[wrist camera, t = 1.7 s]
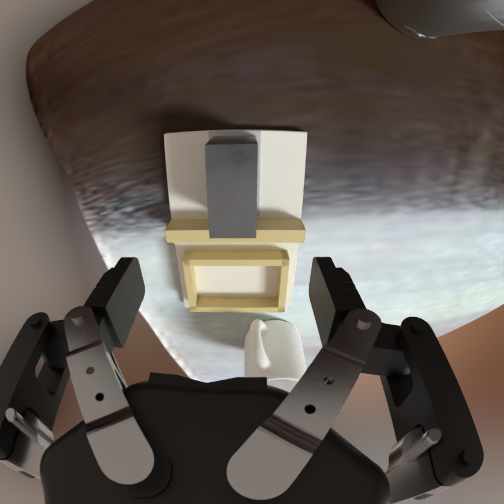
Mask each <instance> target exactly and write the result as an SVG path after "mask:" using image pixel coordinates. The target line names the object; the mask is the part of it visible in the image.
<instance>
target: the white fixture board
mask: <svg viewBox="0 0 504 504" xmlns="http://www.w3.org/2000/svg"><path fill="white" fill-rule="evenodd" d="M213 136H256V139H257V143H258V171H257V227H256V238H209V223H208V206H207V188H206V165H205V144H206V143H207V142H208V141H209V140H210V139H211V138H212V137H213ZM306 143H307V132H302V131H284V130H206V131H188V132H174V133H166V134H164V144H165V158H166V171H167V182H168V193H169V202H170V211H171V221H170V223H169V224H168V226H167V228H166V230H165V235H166V242H167V243H175V250H176V257H177V264H178V270H179V276H180V282H181V288H182V294H183V300H184V305H185V308H190V312H284V310H285V308H291V304H292V296H293V288H294V280H295V271H296V262H297V253H298V243H304V242H305V232H306V230H305V227H304V225H303V223H302V220H301V212H302V200H303V188H304V174H305V159H306Z"/></svg>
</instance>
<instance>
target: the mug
mask: <svg viewBox="0 0 504 504" xmlns="http://www.w3.org/2000/svg"><path fill="white" fill-rule="evenodd" d="M305 371H306V364H305V359H304V354H303V348H302V343H301V338H300V335H299V332H298V330H297V329H296V328H295V327H294V326H293V325H292V324H290V323H288V322H285V321H281V320H268V321H264V322H263V321H262V320H259V319H256V320H254V321H253V322H252V323H251V325H250V330H249V331H248V333H247V334H246V337H245V344H244V377H267V385H270V386H274V387H277V388H280V389H283V390H285V391H287V392H289V393H290V392H291V390H292V389H293V388H294V386H295V385H296V384H297V382H298V381H299V380H300V378H301V377H302V376H303V374H304V373H305Z"/></svg>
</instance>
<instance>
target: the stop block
mask: <svg viewBox="0 0 504 504" xmlns="http://www.w3.org/2000/svg"><path fill="white" fill-rule="evenodd" d="M205 165H206V188H207V206H208V223H209V238H256V227H257V171H258V143H257V139H256V136H213V137H212V138H211V139H210V140H209V141H208V142H207V143H206V144H205Z"/></svg>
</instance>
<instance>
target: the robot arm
mask: <svg viewBox="0 0 504 504" xmlns="http://www.w3.org/2000/svg"><path fill="white" fill-rule="evenodd" d="M375 2H376V5H377V6H378V8H379V10H380V12H381V13H382V15H383V16H384V17H385V19H386V20H387V21H388V22H389V23H390V24H391V25H392V26H394V27H395V28H396V29H397V30H399V31H400V32H402V33H403V34H405V35H407V36H409V37H412V38H416V39H429V38H436V37H440V36H447V35H453V34H460V33H468V32H478V31H490V30H504V0H375ZM144 294H145V285H144V281H143V277H142V273H141V269H140V265H139V261H138V259H137V258H136V257H122V258H120V260H119V261H118V263H117V264H116V266H115V267H114V268H111V269H109V270H108V271H107V272H106V273H105V274H104V275H103V276H102V277H101V279H100V281H99V282H98V284H97V285H96V288H94V290H93V291H92V293H91V295H90V296H89V298H88V299H87V301H86V302H85V304H84V306H78V307H75V308H73V309H71V310H70V311H69V312H68V313H67V314H66V315H65V317H64V320H58V321H50V319H49V317H48V315H47V314H46V313H43V312H39V313H36V314H34V315H32V316H30V317H29V318H28V319H27V321H26V322H25V324H24V325H23V327H22V329H21V330H20V332H19V333H18V335H17V337H16V339H15V341H14V342H13V344H12V346H11V347H10V349H9V351H8V353H7V355H6V357H5V359H4V360H3V363H2V364H1V366H0V461H1V462H2V463H4V464H5V465H7V466H9V467H10V468H12V469H13V470H15V471H18V472H20V473H22V474H23V475H25V476H27V477H29V478H36V477H37V478H39V479H41V481H42V485H43V490H44V498H45V504H396V503H400V502H403V501H406V500H409V499H412V498H413V499H417V500H421V499H425V498H427V497H430V496H432V495H434V494H437V493H439V492H441V491H443V490H446V489H448V488H450V487H452V486H454V485H456V484H458V483H460V482H462V481H464V480H465V479H467V478H469V477H471V476H473V475H474V474H476V473H477V472H478V470H479V469H480V467H481V465H482V463H483V458H484V453H483V449H482V445H481V442H480V439H479V436H478V433H477V430H476V427H475V424H474V421H473V419H472V416H471V413H470V411H469V408H468V405H467V403H466V401H465V398H464V396H463V393H462V391H461V388H460V386H459V384H458V381H457V379H456V377H455V375H454V373H453V370H452V368H451V366H450V364H449V362H448V360H447V358H446V356H445V354H444V351H443V349H442V347H441V346H440V344H439V342H438V340H437V338H436V336H435V334H434V332H433V330H432V328H431V327H430V325H429V324H428V323H427V322H426V321H424V320H423V319H421V318H418V317H408V318H405V319H404V320H403V321H402V323H401V326H398V325H391V324H385V323H382V322H381V319H380V318H379V316H378V315H377V314H375V313H374V312H372V311H370V310H367V309H366V307H365V305H364V303H363V301H362V299H361V297H360V295H359V293H358V291H357V289H356V287H355V285H354V283H353V281H352V279H351V277H350V275H349V274H348V273H347V272H346V271H345V270H344V269H342V268H336V267H335V265H334V263H333V261H332V259H331V257H314V258H313V262H312V269H311V276H310V283H309V298H310V302H311V305H312V309H313V313H314V316H315V320H316V324H317V327H318V331H319V335H320V339H321V343H322V346H323V347H322V349H321V350H320V352H319V353H318V354H317V356H316V357H315V359H314V360H313V362H312V363H311V364H310V366H309V367H308V369H307V370H306V371H305V373H304V374H303V376H302V377H301V378H300V380H299V381H298V382H297V384H296V385H295V386H294V388H293V389H292V390H291V392H290V393H289V392H287V391H285V390H283V389H280V388H277V387H274V386H270V385H267V377H236V378H231V379H226V380H220V381H215V382H209V383H204V382H200V381H197V380H193V379H190V378H186V377H183V376H179V375H173V374H172V375H171V374H162V373H152V372H151V373H150V376H149V380H148V381H143V382H139V383H136V384H133V385H131V386H127V384H126V382H125V380H124V378H123V376H122V373H121V372H120V369H119V367H118V364H117V362H116V360H115V358H114V355H113V353H112V350H113V347H117V348H123V347H124V344H125V342H126V339H127V337H128V334H129V332H130V329H131V326H132V324H133V322H134V319H135V317H136V314H137V312H138V310H139V307H140V305H141V303H142V300H143V298H144ZM40 357H42V358H43V359H44V361H45V362H44V365H43V367H42V369H41V371H40V374H39V376H38V378H36V376H35V368H36V365H37V363H38V361H39V359H40ZM360 373H366V374H373V375H380V378H381V382H382V385H383V388H384V392H385V396H386V399H387V403H388V407H389V411H390V415H391V418H392V422H393V427H394V431H395V435H396V440H397V443H396V444H395V445H394V446H393V447H392V449H391V451H390V453H389V465H388V469H387V471H386V473H385V472H383V470H382V469H381V468H380V467H379V466H378V465H377V464H376V463H374V462H373V461H372V460H370V459H369V458H368V457H367V456H365V455H364V454H363V453H361V452H360V451H359V450H358V449H357V448H355V447H354V446H353V445H352V444H350V443H349V442H348V441H347V440H346V439H344V438H343V437H342V436H341V435H339V434H338V433H337V432H336V431H335V430H334V429H332V428H331V426H332V424H333V422H334V421H335V419H336V417H337V415H338V414H339V412H340V410H341V409H342V407H343V405H344V403H345V401H346V400H347V398H348V396H349V394H350V392H351V390H352V388H353V387H354V384H355V383H356V381H357V379H358V377H359V375H360ZM70 375H71V378H72V382H73V386H74V389H75V393H76V396H77V399H78V403H79V406H80V409H81V412H82V415H83V418H84V420H83V421H81V422H80V423H79V424H77V425H76V426H75V427H74V428H72V429H71V430H70V431H68V432H67V433H65V434H64V435H63V436H61V437H60V438H59V439H57V440H56V441H55V442H54V437H53V433H52V428H53V425H54V421H55V418H56V415H57V412H58V408H59V405H60V402H61V399H62V396H63V393H64V390H65V388H66V385H67V382H68V380H69V377H70Z"/></svg>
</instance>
